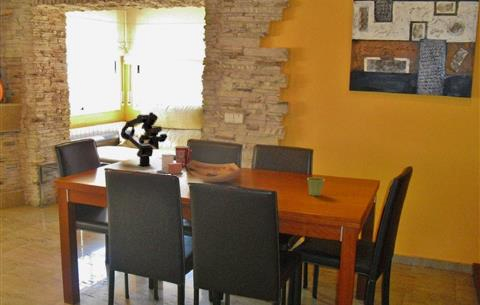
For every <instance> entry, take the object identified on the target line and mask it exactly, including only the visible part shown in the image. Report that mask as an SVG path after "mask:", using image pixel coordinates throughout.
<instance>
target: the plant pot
mask: <svg viewBox="0 0 480 305" xmlns="http://www.w3.org/2000/svg"><path fill="white" fill-rule="evenodd" d="M306 179H307V184H308V193H309V195H310V196H313V197H315V196H317V197H320V196H321V195H322V191H323V186H324V183H325V180H326V179H324V178H322V177H315V176H314V177H307V178H306Z"/></svg>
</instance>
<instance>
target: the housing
mask: <svg viewBox="0 0 480 305" xmlns="http://www.w3.org/2000/svg"><path fill="white" fill-rule="evenodd" d="M156 173H159V174H161V173H162V175H165V174H171V175H172V176H178V175H183V174H184V173H183V172H182V167H181V163H176V162H173V163H172V164H169V168H166V167H162V166H161V170H157V171H156Z"/></svg>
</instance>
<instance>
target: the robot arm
mask: <svg viewBox="0 0 480 305" xmlns="http://www.w3.org/2000/svg"><path fill="white" fill-rule="evenodd" d="M158 119H159V117H158V115H157V114H155V113H154V112H153V111H151V112H149V114H146V113H145V114H142V113H141V114H138V115H136V117H135V118H134V119H131V120H127V121H126V123H125V125H124V126H123V127H122V128H121V131H120V137H121V139H123V140H127V141H129V142H131V144H133V146H135V147H136V149H138V151H137V153H136V156H137V158H139V164H137V166H138V167H139V166H140V167H150V166H152V165H151V164H150V160H151V159H150V157H153V154H154V152H153V151H154V149H156V150H159V148H160V146H159V144H160V143H164V142H165V141H166V140H167V138H168V135H167V134H166V133H160V132H162V131H163V128H162V126H160V125H159V126H154V125H155V123H156V122H157V120H158ZM140 124H142V125H141V129H142V130H144V134H142V135H141V136H140V137H139V138H138V137H137V136H136V135H135V132H136V130H135V126H138V125H140ZM153 126H154V127H153ZM129 128H131V129H129ZM159 133H160V135H159ZM146 141H148V142H146ZM153 148H154V149H153Z"/></svg>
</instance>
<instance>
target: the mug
mask: <svg viewBox="0 0 480 305" xmlns="http://www.w3.org/2000/svg"><path fill="white" fill-rule="evenodd" d="M174 148H175V163H181V168H186V167H185V166H186V165H187V166H188V164H189V163H190V161H191V160H192V158H193V155H194V153H193V150H192V149H189V146H186V145H177V146H174ZM189 152H190V157H189V158H188V156H189V155H188V154H189Z"/></svg>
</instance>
